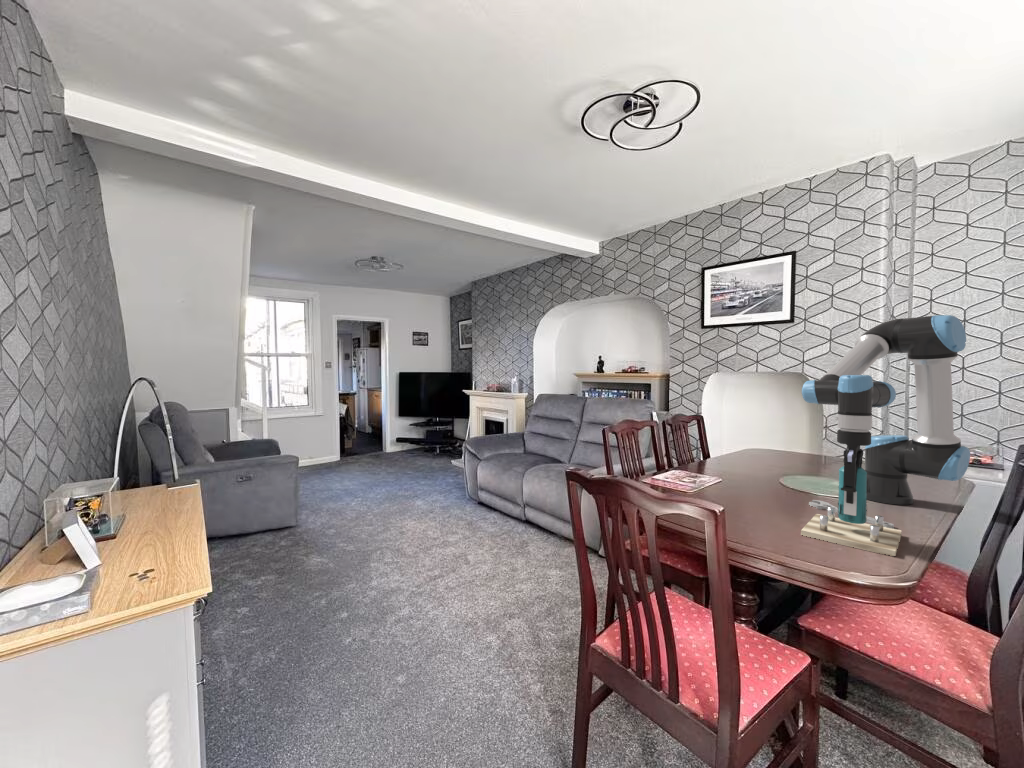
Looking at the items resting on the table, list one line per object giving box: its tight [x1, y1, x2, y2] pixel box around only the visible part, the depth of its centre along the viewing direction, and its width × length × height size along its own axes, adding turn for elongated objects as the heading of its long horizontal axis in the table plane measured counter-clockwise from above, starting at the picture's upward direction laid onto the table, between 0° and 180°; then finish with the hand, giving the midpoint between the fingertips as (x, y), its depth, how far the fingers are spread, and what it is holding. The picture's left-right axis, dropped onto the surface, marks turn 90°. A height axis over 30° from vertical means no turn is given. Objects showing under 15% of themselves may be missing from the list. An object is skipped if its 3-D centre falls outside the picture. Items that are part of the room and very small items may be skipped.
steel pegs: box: [820, 507, 885, 543], centre depth 122 cm, size 13×13×4 cm
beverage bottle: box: [837, 457, 868, 524], centre depth 122 cm, size 6×7×20 cm
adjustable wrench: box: [808, 499, 895, 529], centre depth 139 cm, size 25×6×2 cm, turn 14°
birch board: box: [800, 513, 903, 557], centre depth 122 cm, size 20×20×2 cm
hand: (851, 511), depth 122 cm, fingers closed on beverage bottle, 6 cm apart
